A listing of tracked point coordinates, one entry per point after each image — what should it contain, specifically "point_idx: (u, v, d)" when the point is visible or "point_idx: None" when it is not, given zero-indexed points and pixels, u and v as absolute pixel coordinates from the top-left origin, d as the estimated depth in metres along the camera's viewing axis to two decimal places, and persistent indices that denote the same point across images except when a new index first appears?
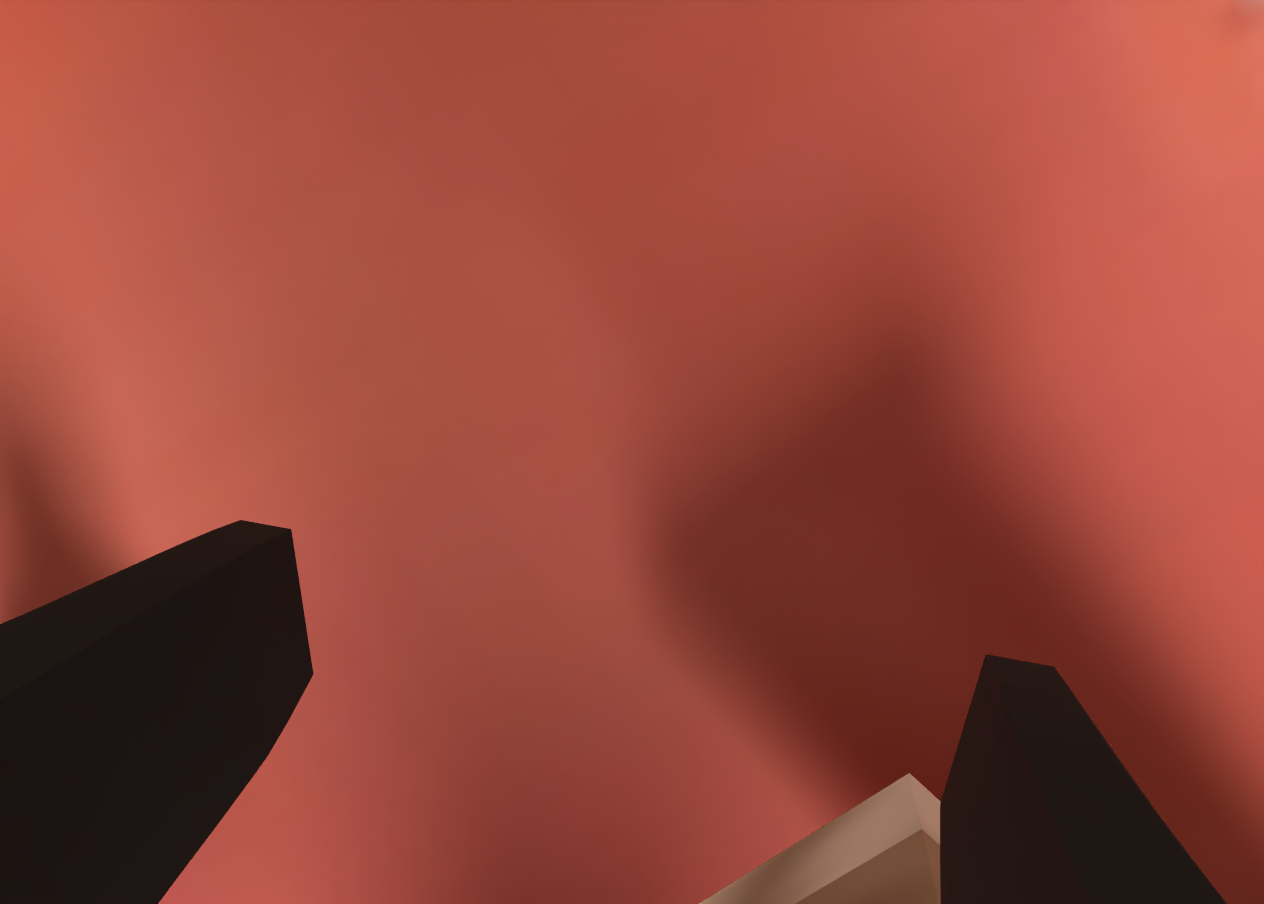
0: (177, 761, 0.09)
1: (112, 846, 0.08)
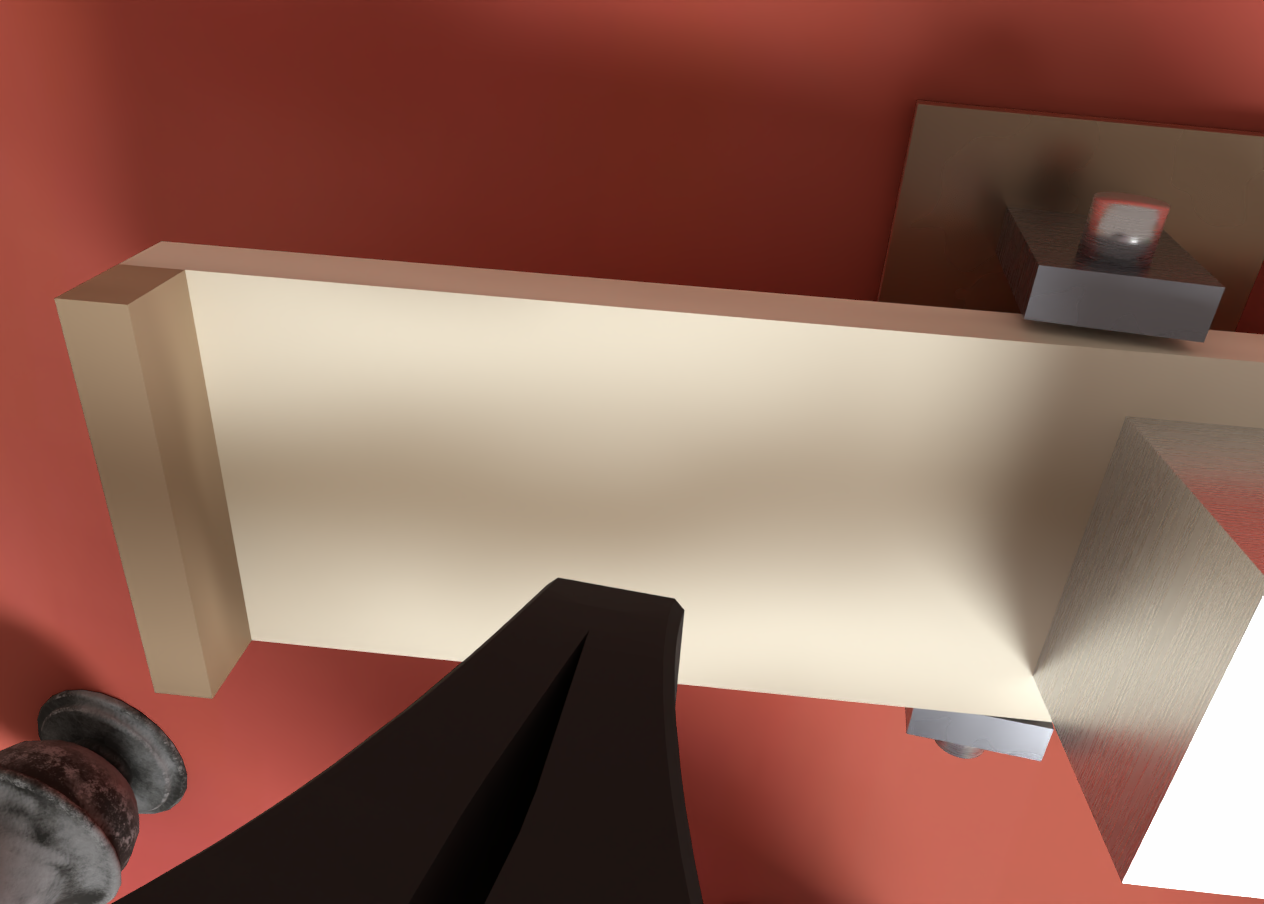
0: None
1: None
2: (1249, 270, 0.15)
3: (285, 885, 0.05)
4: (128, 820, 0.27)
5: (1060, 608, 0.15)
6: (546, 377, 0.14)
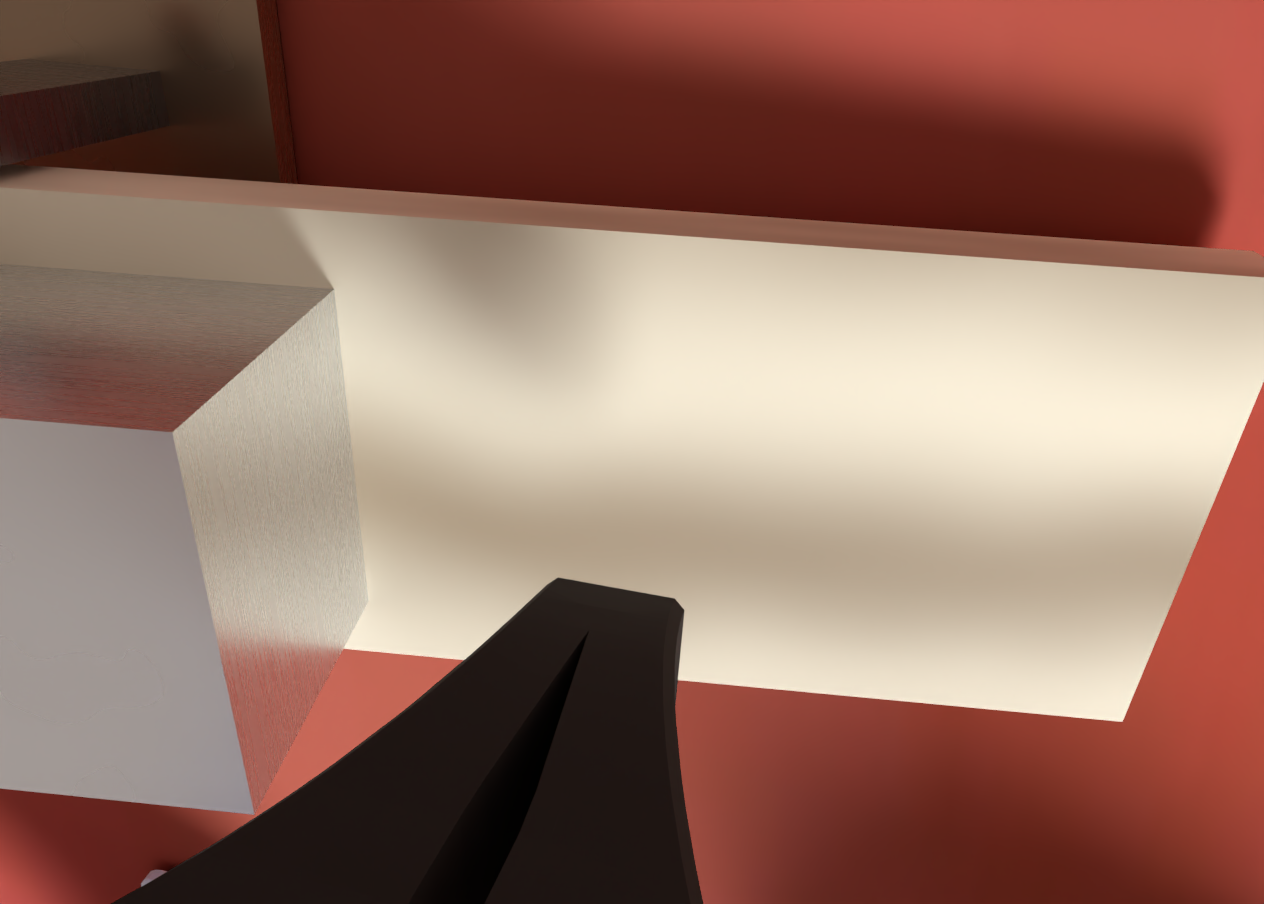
0: None
1: None
2: (266, 122, 0.14)
3: (285, 885, 0.05)
4: None
5: None
6: None
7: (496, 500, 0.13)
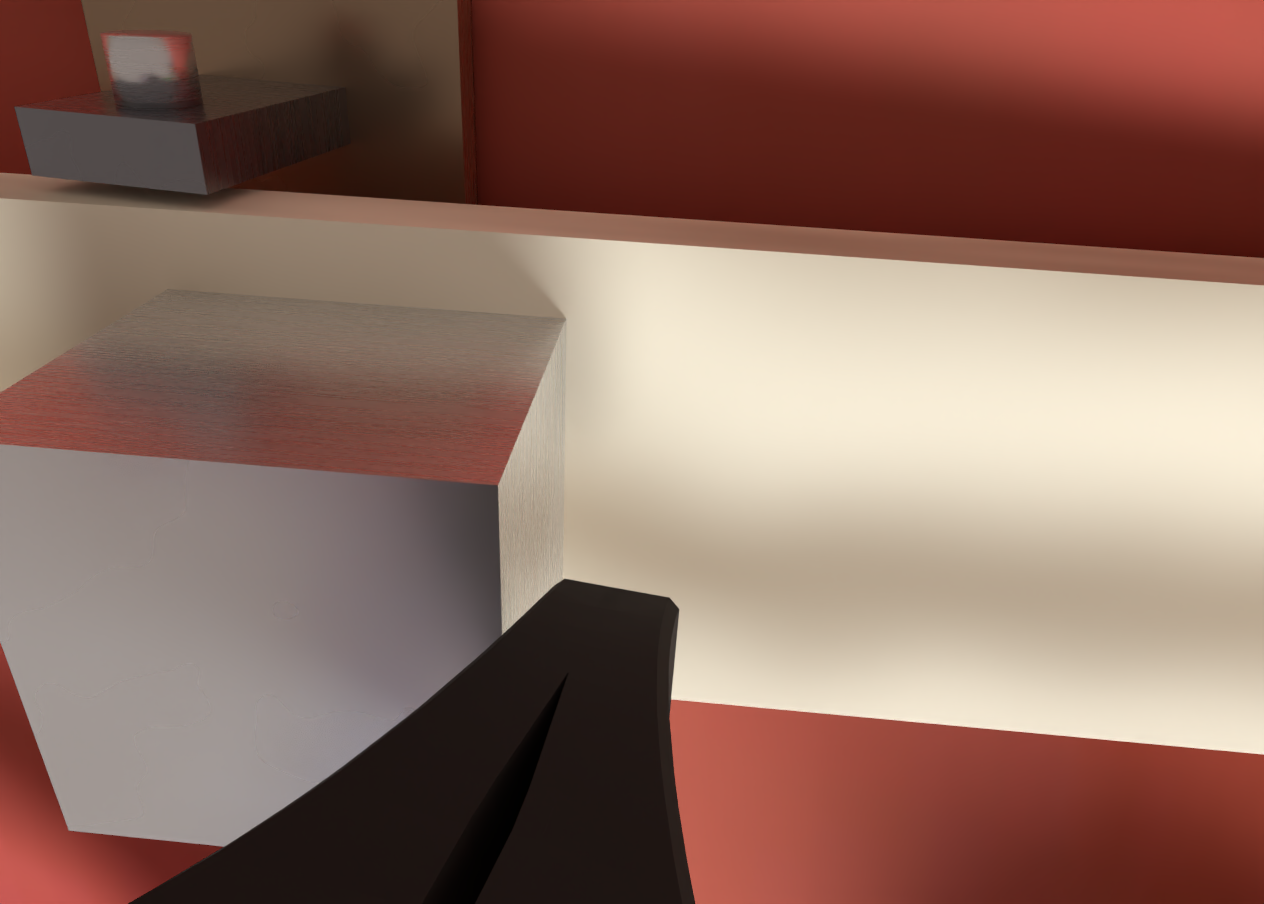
0: None
1: None
2: (455, 140, 0.14)
3: (296, 888, 0.05)
4: None
5: None
6: None
7: (711, 535, 0.13)
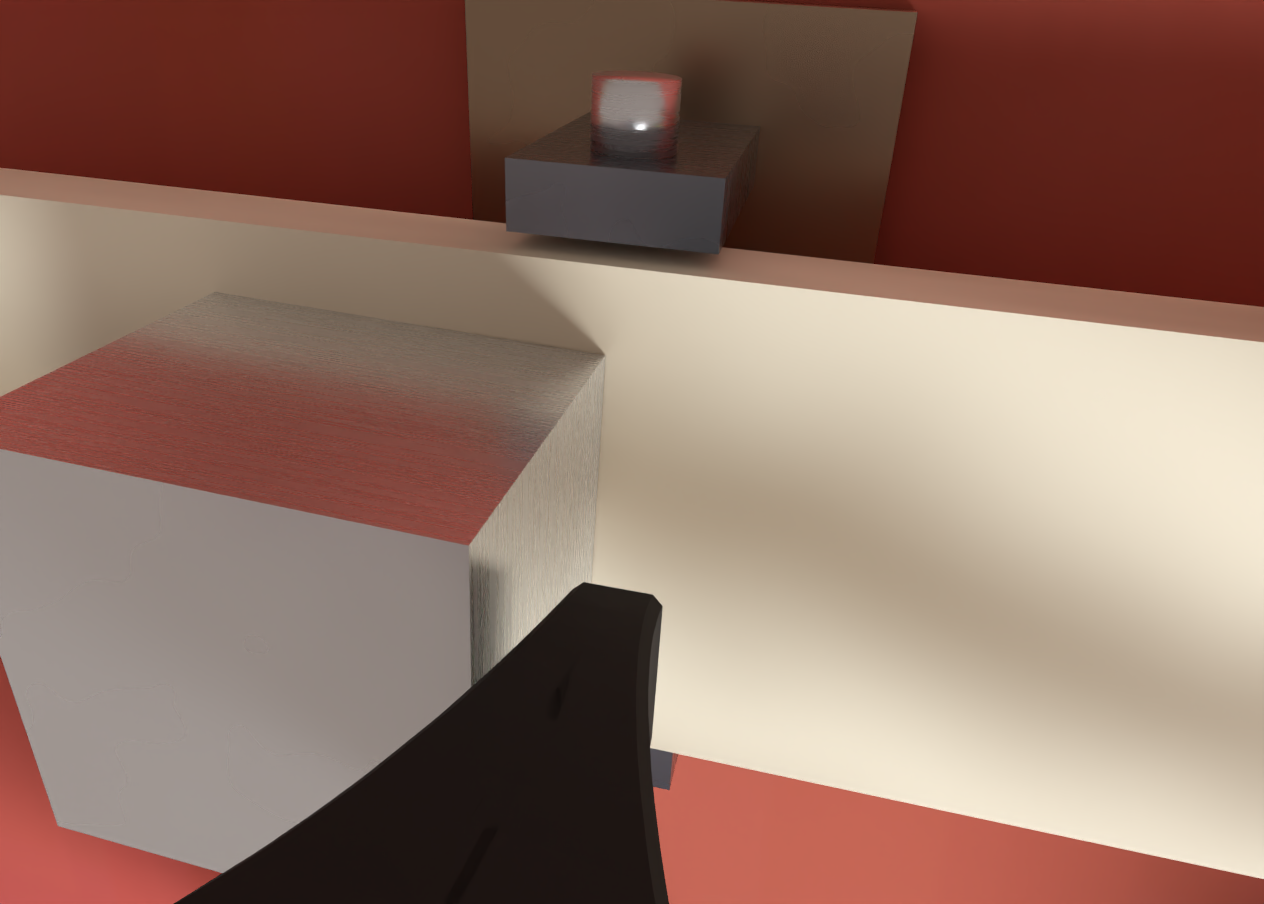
0: None
1: None
2: (877, 183, 0.13)
3: (328, 896, 0.05)
4: None
5: None
6: (1, 284, 0.12)
7: (1213, 674, 0.11)
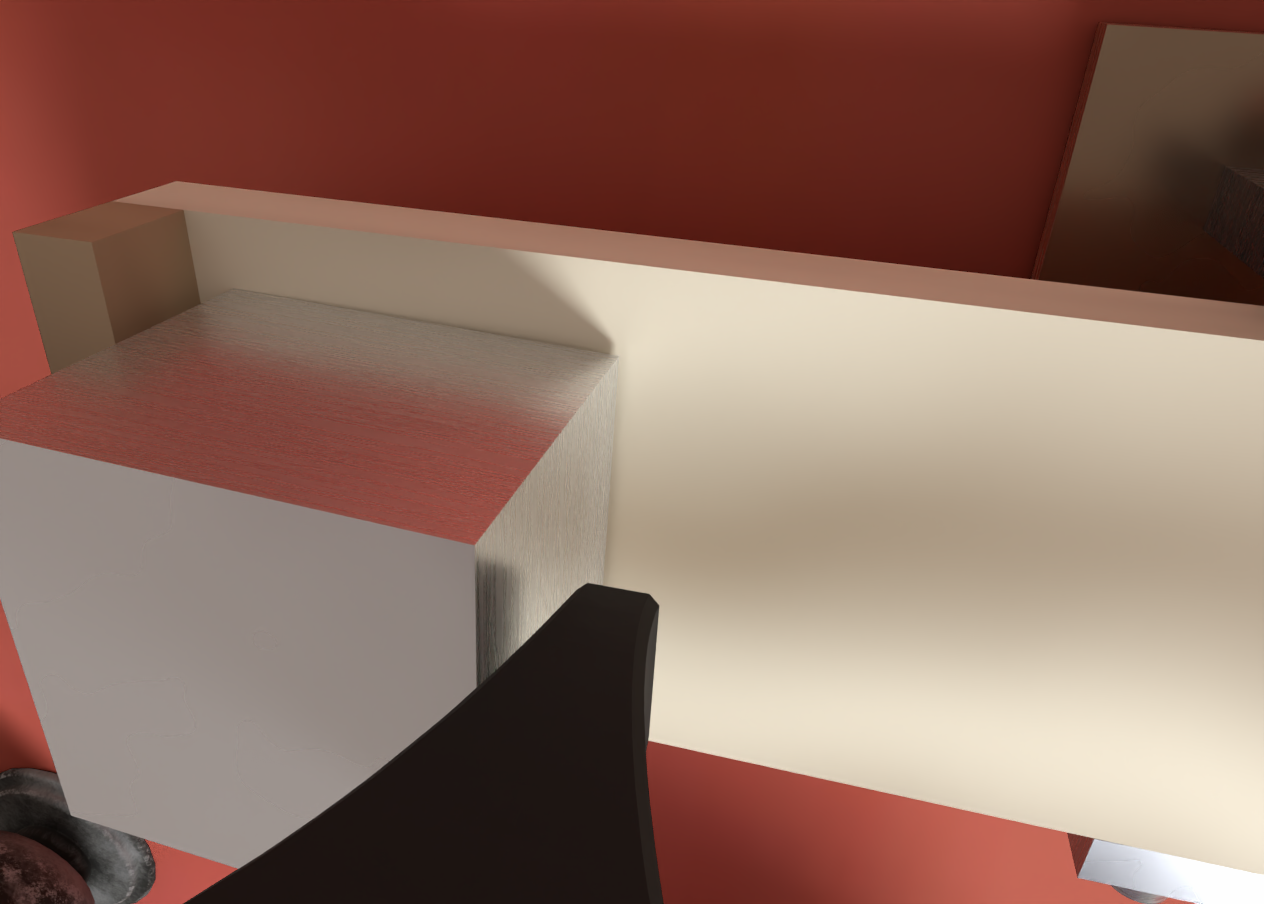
0: None
1: None
2: None
3: (335, 898, 0.05)
4: None
5: None
6: None
7: None
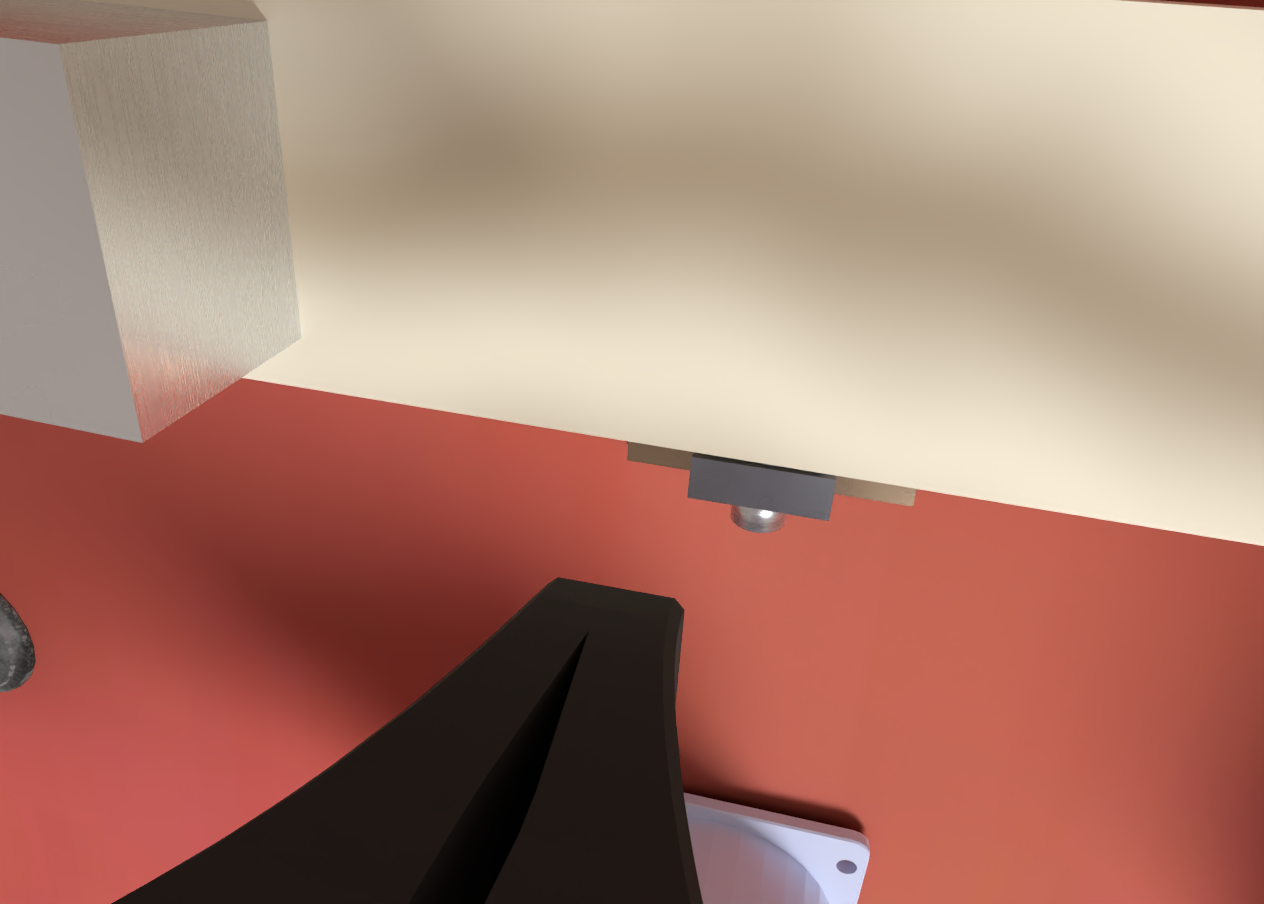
0: None
1: None
2: None
3: (285, 885, 0.05)
4: None
5: None
6: None
7: None
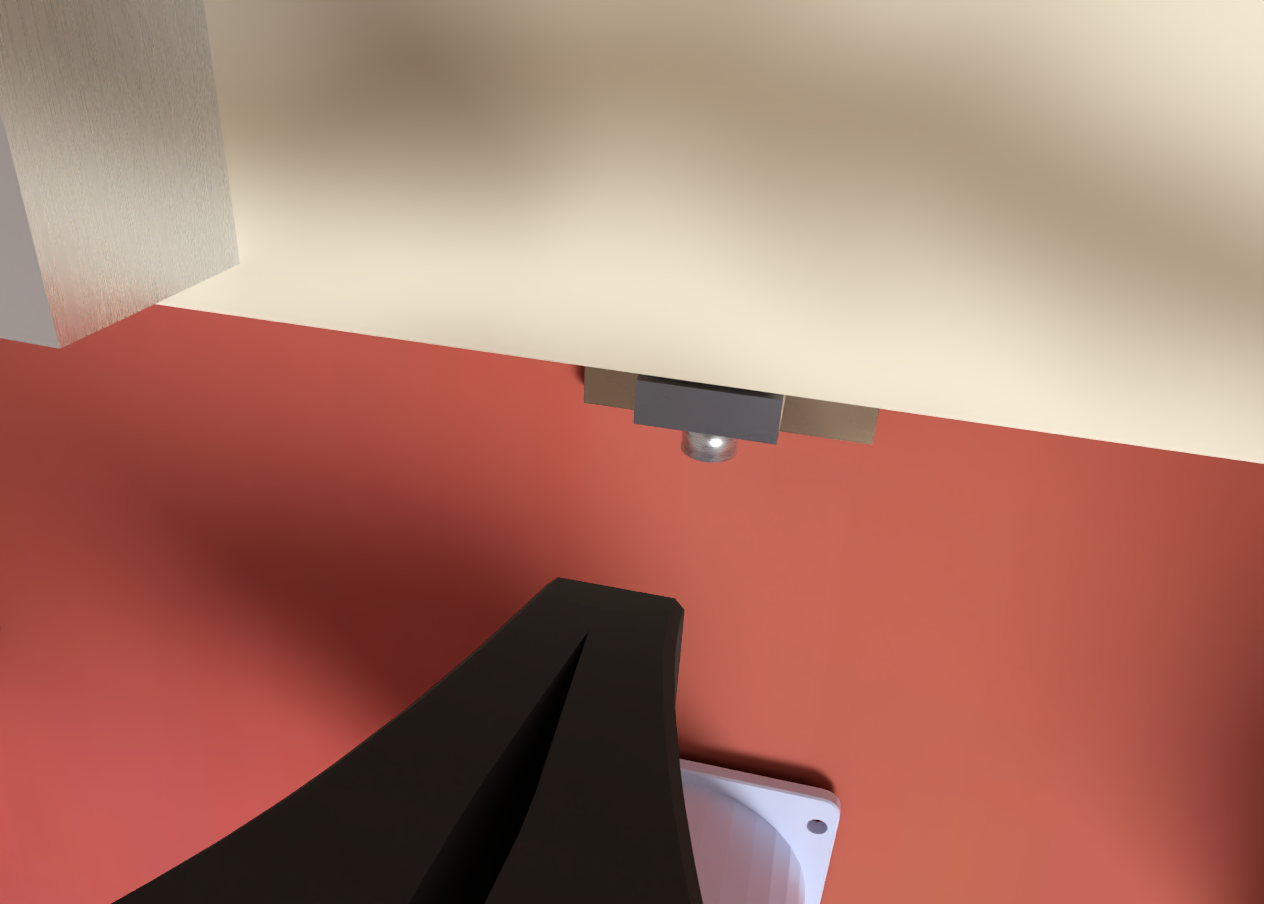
0: None
1: None
2: None
3: (285, 885, 0.05)
4: None
5: None
6: None
7: None
